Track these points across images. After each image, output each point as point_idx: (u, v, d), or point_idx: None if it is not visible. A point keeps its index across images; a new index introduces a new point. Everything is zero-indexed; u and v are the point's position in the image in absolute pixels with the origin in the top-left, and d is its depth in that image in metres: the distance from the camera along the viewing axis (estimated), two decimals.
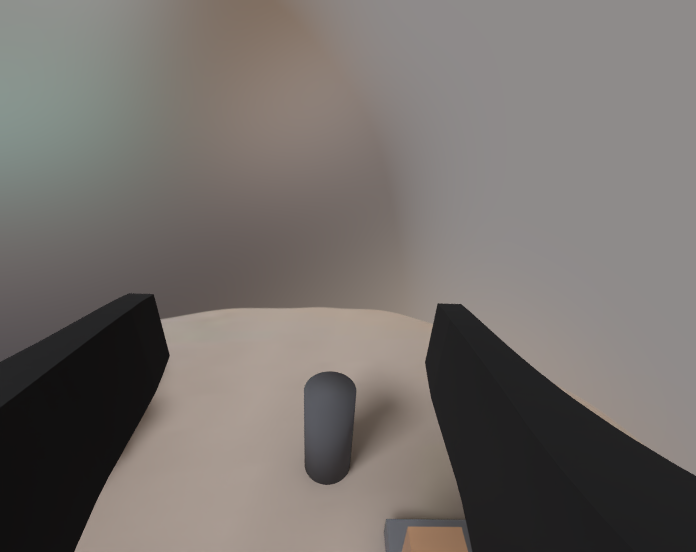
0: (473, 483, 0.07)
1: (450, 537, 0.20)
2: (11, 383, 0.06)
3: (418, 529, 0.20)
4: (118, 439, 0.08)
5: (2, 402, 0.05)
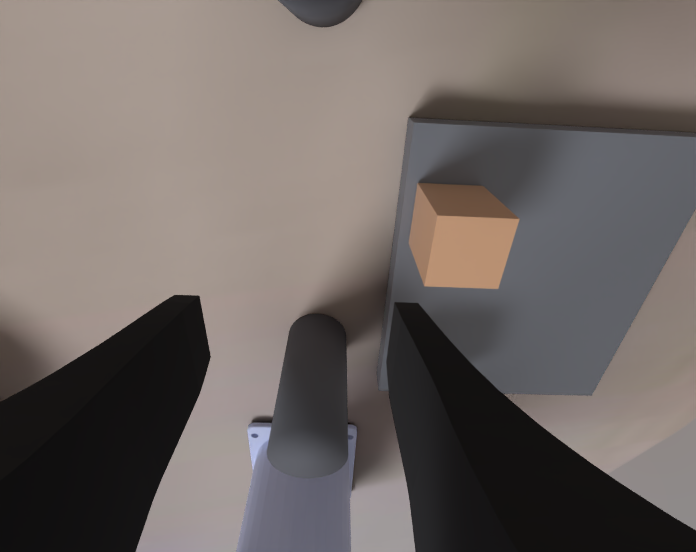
0: (417, 482, 0.07)
1: (495, 231, 0.14)
2: (85, 386, 0.06)
3: (452, 220, 0.13)
4: (170, 440, 0.08)
5: (82, 404, 0.05)
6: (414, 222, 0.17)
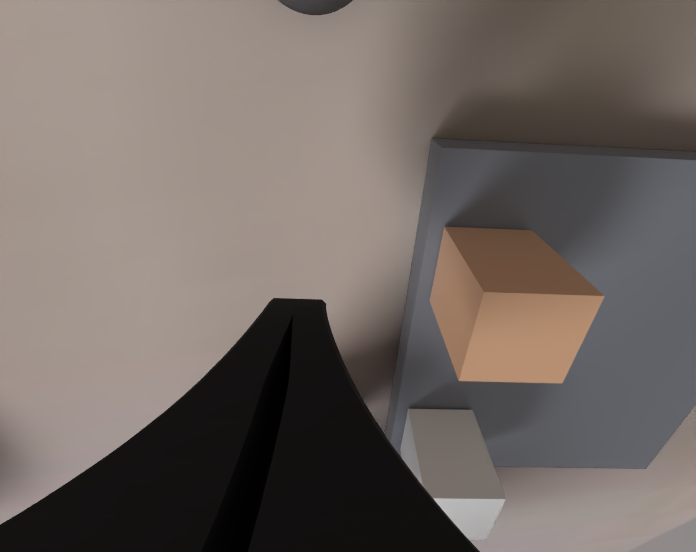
0: None
1: (566, 312, 0.09)
2: (243, 389, 0.06)
3: (505, 298, 0.09)
4: None
5: (252, 407, 0.05)
6: (439, 278, 0.13)
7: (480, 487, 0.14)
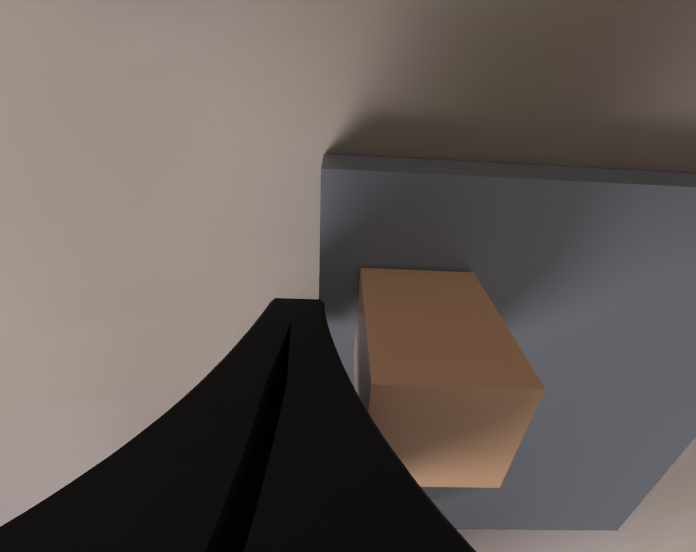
0: None
1: (494, 408, 0.07)
2: (246, 389, 0.06)
3: (403, 391, 0.06)
4: None
5: (254, 407, 0.05)
6: (357, 331, 0.10)
7: None
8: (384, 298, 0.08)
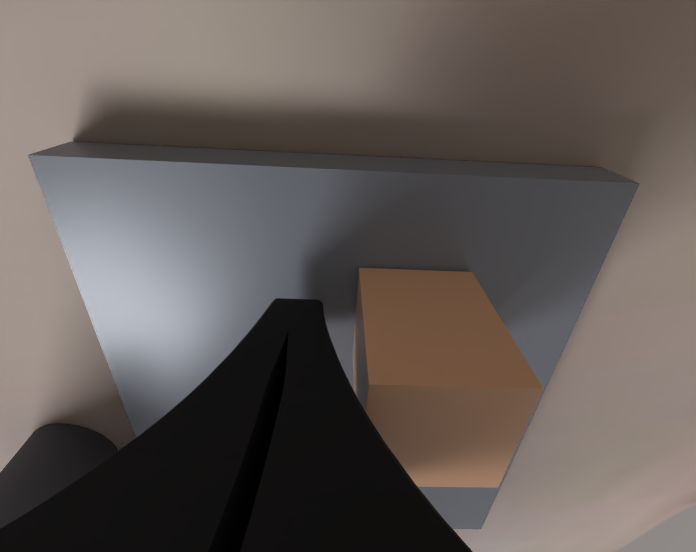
0: None
1: (492, 408, 0.07)
2: (247, 388, 0.06)
3: (401, 391, 0.06)
4: None
5: (256, 407, 0.05)
6: (356, 332, 0.10)
7: None
8: (382, 298, 0.08)
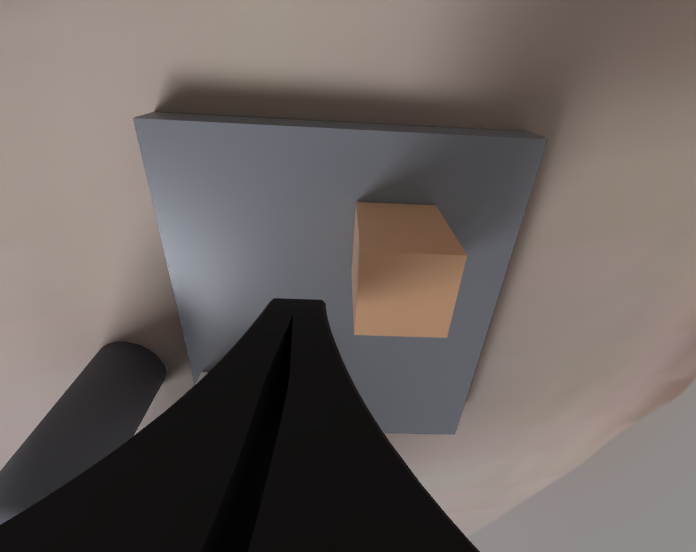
0: None
1: (437, 270, 0.11)
2: (243, 389, 0.06)
3: (380, 257, 0.10)
4: None
5: (252, 407, 0.05)
6: (353, 249, 0.14)
7: None
8: (371, 216, 0.12)
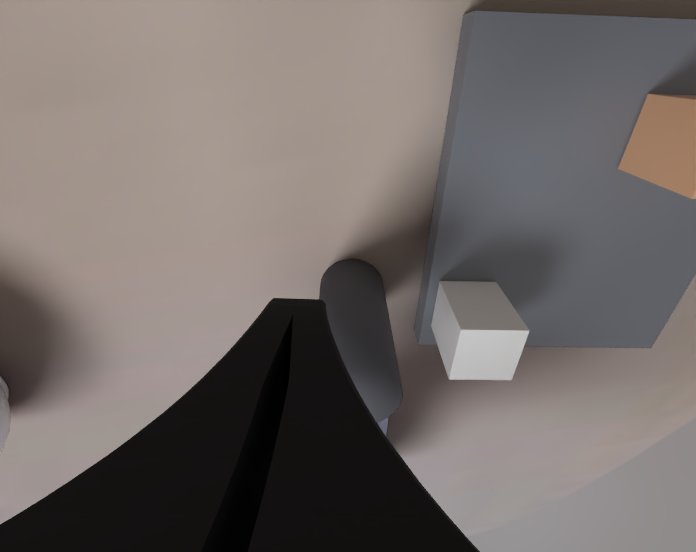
0: None
1: None
2: (244, 388, 0.06)
3: None
4: None
5: (252, 407, 0.05)
6: (639, 140, 0.15)
7: (506, 324, 0.16)
8: (687, 97, 0.14)
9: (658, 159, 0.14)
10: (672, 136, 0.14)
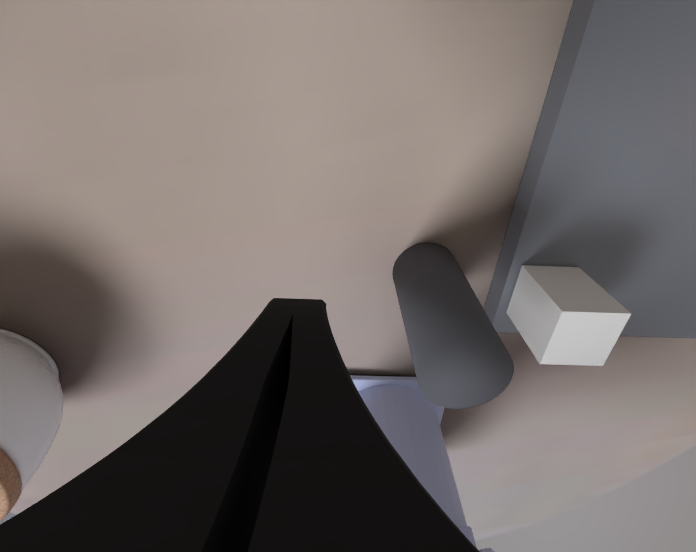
0: None
1: None
2: (244, 389, 0.06)
3: None
4: None
5: (252, 407, 0.05)
6: None
7: (606, 307, 0.16)
8: None
9: None
10: None
